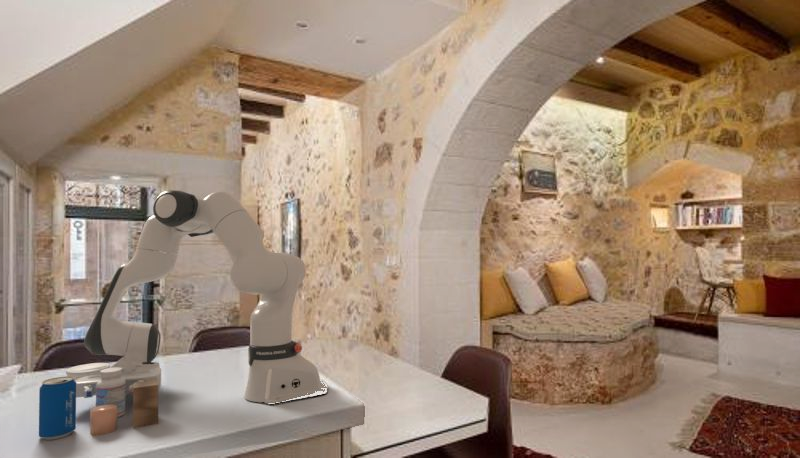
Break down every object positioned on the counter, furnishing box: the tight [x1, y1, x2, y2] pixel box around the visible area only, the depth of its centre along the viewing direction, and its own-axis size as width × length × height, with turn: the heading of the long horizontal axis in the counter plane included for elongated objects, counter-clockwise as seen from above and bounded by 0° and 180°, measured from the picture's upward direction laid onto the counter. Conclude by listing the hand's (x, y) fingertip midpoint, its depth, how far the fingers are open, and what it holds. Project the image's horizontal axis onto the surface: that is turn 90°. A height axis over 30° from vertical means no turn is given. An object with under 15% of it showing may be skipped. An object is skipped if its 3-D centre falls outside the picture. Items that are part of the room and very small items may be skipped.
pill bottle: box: [95, 367, 126, 418], centre depth 111 cm, size 6×6×11 cm
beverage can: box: [38, 375, 77, 441], centre depth 100 cm, size 6×6×12 cm
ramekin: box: [65, 362, 111, 381], centre depth 138 cm, size 11×11×5 cm
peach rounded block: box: [89, 404, 118, 436], centre depth 102 cm, size 5×5×5 cm
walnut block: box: [132, 379, 159, 429], centre depth 106 cm, size 5×5×9 cm
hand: (110, 391), depth 110 cm, fingers open, 8 cm apart
